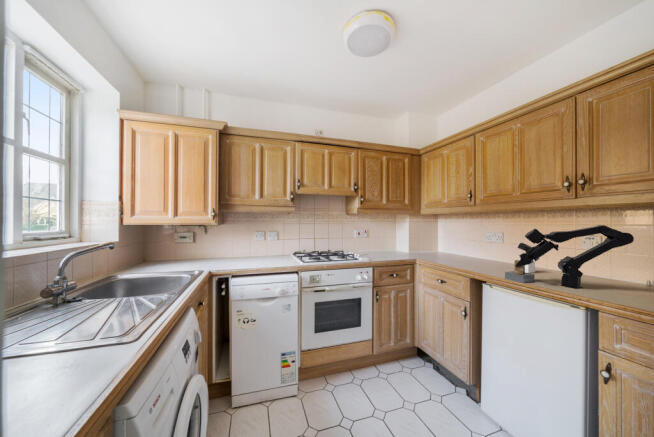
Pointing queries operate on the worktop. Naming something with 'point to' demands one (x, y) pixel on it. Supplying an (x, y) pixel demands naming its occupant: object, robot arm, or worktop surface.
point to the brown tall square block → (519, 268)
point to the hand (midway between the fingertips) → (516, 266)
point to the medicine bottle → (530, 268)
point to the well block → (520, 277)
